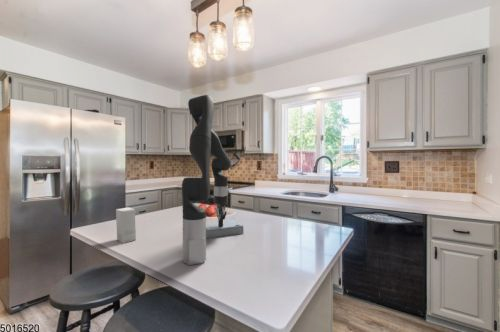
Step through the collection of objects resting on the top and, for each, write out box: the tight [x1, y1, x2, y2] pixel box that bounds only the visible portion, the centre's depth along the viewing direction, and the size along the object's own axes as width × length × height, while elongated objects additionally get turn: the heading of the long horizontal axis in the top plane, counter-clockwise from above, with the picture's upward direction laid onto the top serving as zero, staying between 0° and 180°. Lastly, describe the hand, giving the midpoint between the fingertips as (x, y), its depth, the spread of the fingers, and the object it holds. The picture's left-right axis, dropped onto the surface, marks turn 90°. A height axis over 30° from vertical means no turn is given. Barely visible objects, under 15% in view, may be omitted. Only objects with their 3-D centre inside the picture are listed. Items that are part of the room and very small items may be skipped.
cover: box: [206, 219, 244, 231], centre depth 131 cm, size 13×24×1 cm, turn 114°
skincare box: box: [115, 206, 137, 244], centre depth 117 cm, size 8×7×16 cm
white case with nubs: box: [206, 226, 244, 239], centre depth 131 cm, size 13×24×4 cm, turn 114°
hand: (220, 226), depth 127 cm, fingers closed
